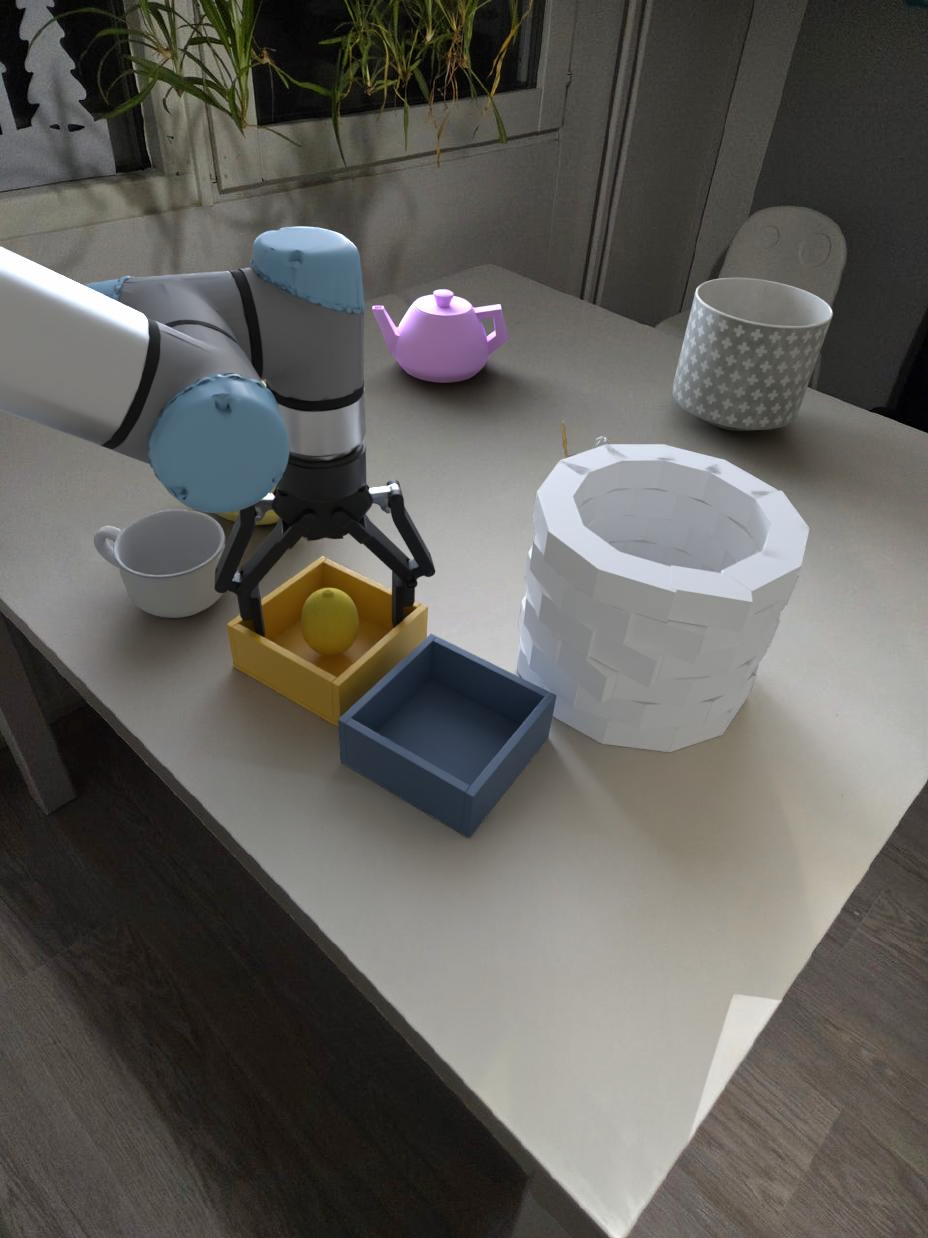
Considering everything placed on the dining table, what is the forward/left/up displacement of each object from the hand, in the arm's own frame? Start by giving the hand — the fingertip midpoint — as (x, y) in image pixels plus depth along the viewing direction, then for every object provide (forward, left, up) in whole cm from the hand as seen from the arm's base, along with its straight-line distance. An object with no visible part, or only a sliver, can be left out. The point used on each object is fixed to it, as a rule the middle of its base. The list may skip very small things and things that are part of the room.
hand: (330, 635), depth 80 cm
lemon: (0, 0, -3) cm, 3 cm away
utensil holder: (+7, +39, -3) cm, 40 cm away
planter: (+14, +78, -3) cm, 79 cm away
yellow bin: (0, 0, -3) cm, 3 cm away
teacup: (-20, -3, -3) cm, 20 cm away
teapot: (-31, +64, -3) cm, 71 cm away
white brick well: (+25, +17, -3) cm, 30 cm away
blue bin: (+16, -3, -3) cm, 17 cm away
